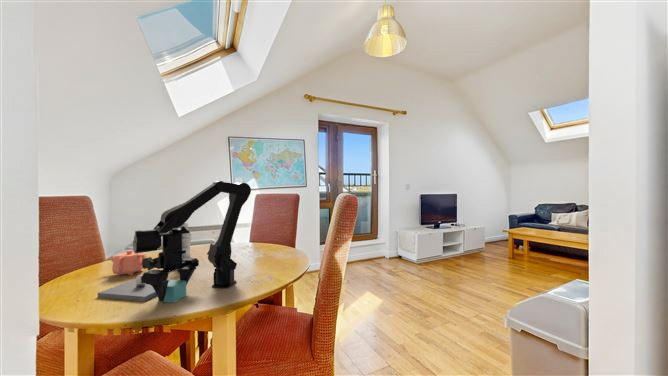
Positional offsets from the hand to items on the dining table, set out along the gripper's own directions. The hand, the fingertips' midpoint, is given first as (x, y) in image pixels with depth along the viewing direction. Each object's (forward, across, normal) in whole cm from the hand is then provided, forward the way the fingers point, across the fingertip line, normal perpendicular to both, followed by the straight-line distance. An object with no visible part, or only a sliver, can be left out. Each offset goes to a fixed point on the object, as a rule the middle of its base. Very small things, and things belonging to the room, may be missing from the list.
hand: (172, 295), depth 87 cm
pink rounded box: (+1, -20, -38) cm, 43 cm away
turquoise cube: (+1, 0, 0) cm, 1 cm away
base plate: (+1, -4, -16) cm, 17 cm away
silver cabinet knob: (-1, -4, -16) cm, 17 cm away
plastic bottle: (+1, -30, -20) cm, 36 cm away
